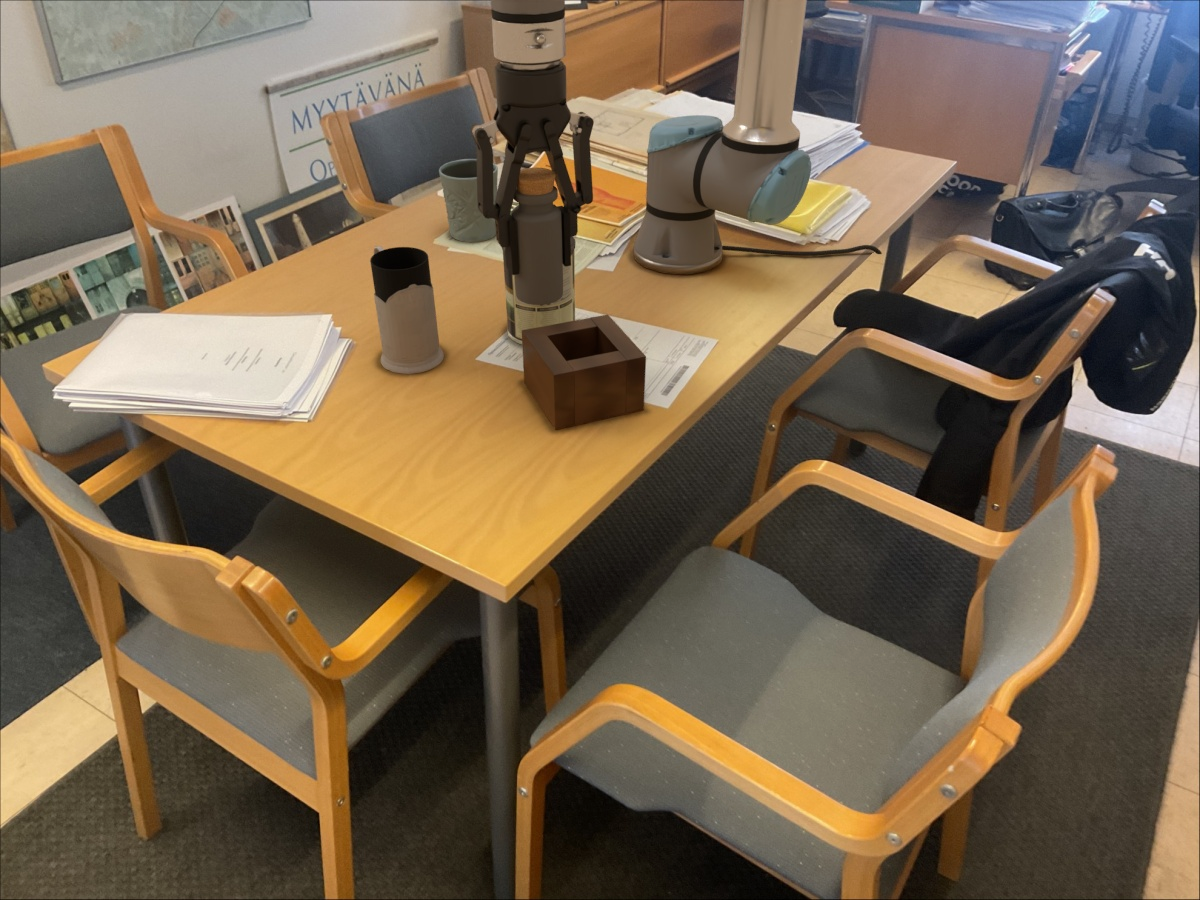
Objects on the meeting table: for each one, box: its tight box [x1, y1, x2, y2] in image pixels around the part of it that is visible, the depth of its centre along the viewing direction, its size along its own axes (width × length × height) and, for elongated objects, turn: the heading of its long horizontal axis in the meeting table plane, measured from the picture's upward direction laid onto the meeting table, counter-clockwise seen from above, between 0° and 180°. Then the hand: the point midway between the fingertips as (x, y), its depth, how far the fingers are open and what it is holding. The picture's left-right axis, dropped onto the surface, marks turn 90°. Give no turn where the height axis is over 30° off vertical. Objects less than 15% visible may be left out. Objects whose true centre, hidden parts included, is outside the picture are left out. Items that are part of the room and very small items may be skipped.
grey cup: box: [438, 158, 499, 243], centre depth 160 cm, size 10×10×12 cm
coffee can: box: [501, 236, 577, 346], centre depth 129 cm, size 10×10×14 cm
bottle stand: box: [521, 314, 647, 431], centre depth 116 cm, size 12×12×8 cm
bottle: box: [510, 167, 563, 305], centre depth 106 cm, size 6×6×15 cm
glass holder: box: [369, 245, 445, 375], centre depth 124 cm, size 9×14×15 cm, turn 32°
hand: (538, 265), depth 108 cm, fingers closed on bottle, 6 cm apart
